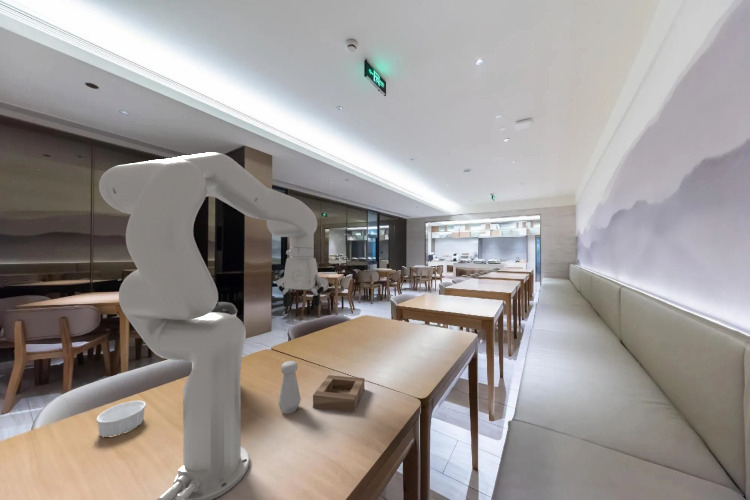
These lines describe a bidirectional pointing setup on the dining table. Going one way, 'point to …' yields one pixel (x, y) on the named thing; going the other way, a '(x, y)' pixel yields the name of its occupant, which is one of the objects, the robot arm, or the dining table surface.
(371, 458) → the dining table surface
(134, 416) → the ramekin
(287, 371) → the salt shaker
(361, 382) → the socket block
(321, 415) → the dining table surface
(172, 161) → the robot arm
